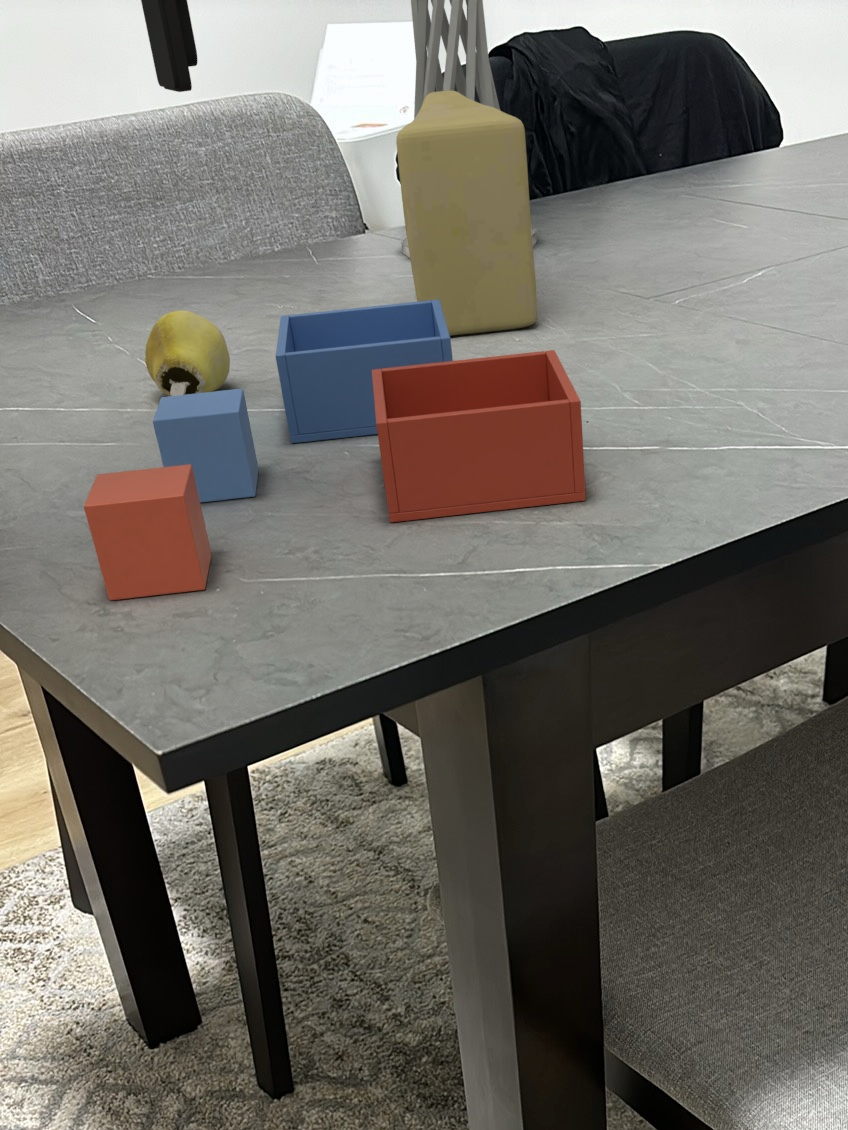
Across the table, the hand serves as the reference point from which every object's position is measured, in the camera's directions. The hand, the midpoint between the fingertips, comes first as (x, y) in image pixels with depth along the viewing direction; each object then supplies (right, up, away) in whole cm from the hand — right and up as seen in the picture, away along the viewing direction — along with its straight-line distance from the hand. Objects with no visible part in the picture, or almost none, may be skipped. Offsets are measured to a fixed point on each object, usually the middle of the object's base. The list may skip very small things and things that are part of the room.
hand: (66, 103), depth 59 cm
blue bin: (+9, +1, +37) cm, 38 cm away
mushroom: (-5, +4, +42) cm, 43 cm away
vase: (+13, +35, +80) cm, 89 cm away
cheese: (+14, +20, +60) cm, 65 cm away
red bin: (+17, -8, +24) cm, 30 cm away
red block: (0, -16, +15) cm, 22 cm away
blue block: (0, -8, +26) cm, 27 cm away
